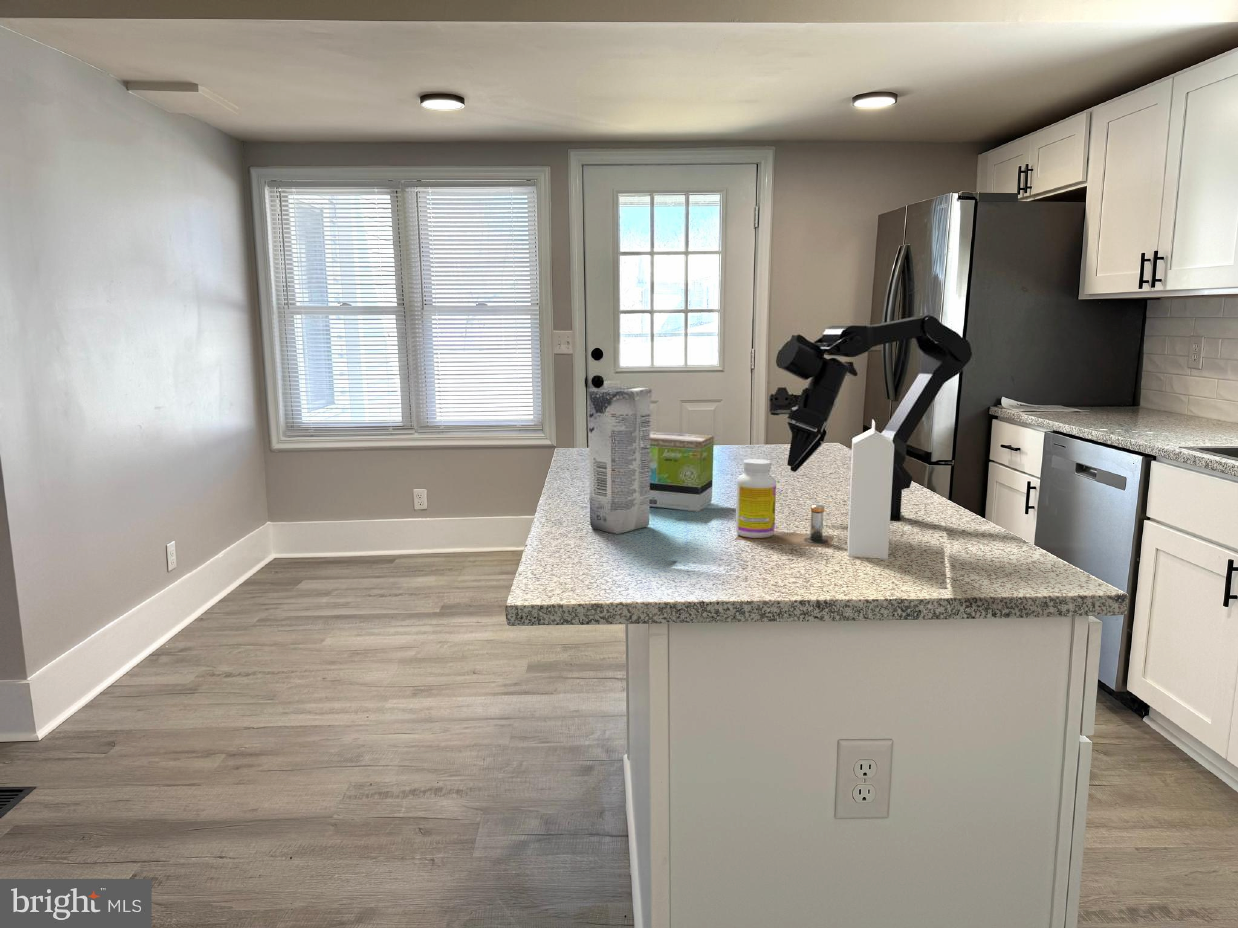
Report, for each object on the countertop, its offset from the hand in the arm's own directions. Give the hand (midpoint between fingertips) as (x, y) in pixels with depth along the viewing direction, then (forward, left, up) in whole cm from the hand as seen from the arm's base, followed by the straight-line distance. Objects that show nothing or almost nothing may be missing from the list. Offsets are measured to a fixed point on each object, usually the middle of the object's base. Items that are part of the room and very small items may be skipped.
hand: (791, 468), depth 147 cm
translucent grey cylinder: (-6, +13, -10) cm, 17 cm away
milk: (-15, +17, -11) cm, 25 cm away
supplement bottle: (+4, +13, -10) cm, 17 cm away
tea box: (+26, -11, -11) cm, 30 cm away
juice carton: (+29, +12, -11) cm, 33 cm away
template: (-1, +13, -11) cm, 17 cm away
